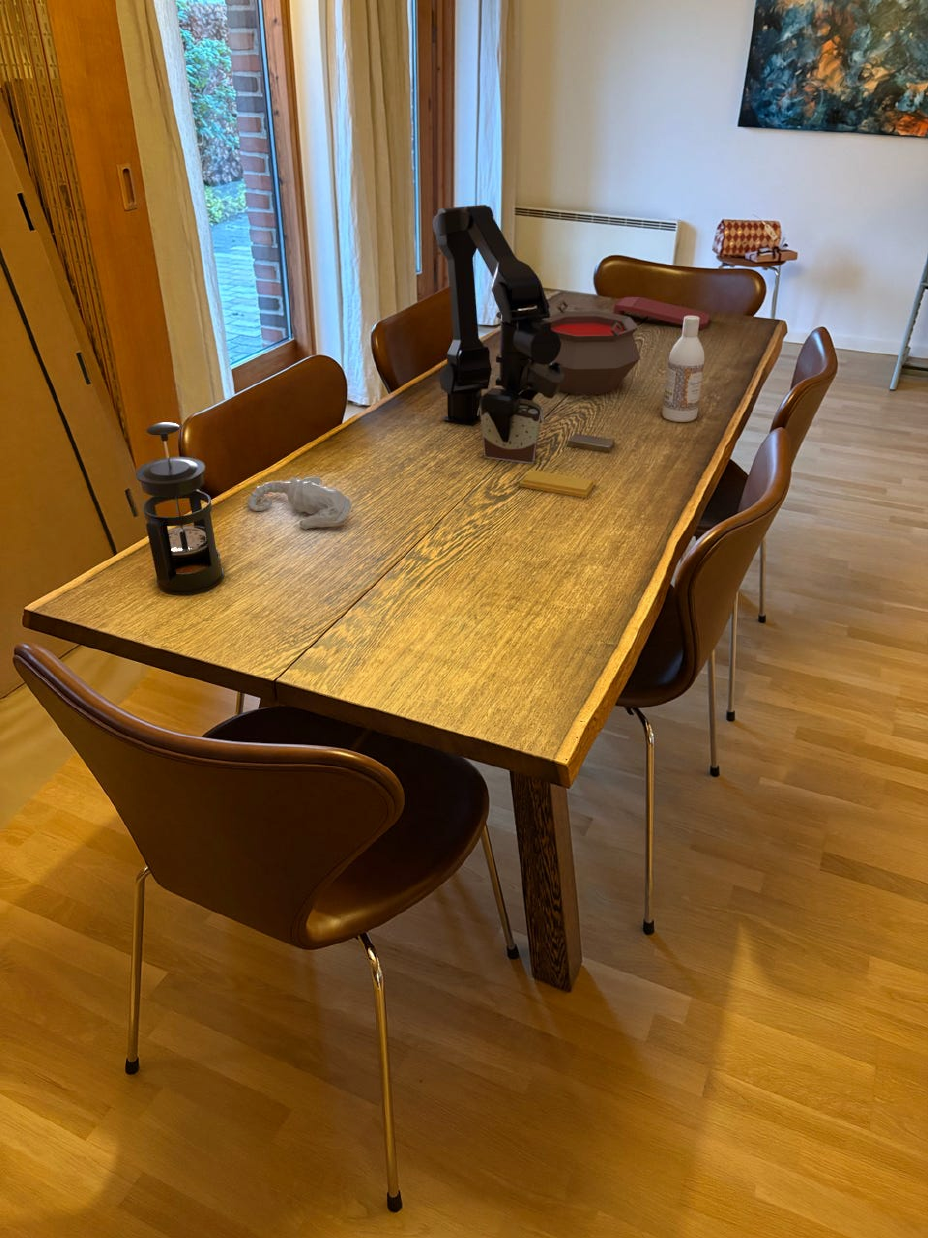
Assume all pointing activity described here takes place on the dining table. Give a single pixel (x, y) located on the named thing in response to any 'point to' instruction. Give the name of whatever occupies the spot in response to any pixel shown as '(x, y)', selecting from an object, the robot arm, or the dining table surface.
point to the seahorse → (307, 501)
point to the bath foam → (684, 375)
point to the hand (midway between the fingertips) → (513, 433)
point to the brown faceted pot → (593, 349)
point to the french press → (179, 522)
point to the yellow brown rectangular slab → (557, 483)
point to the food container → (513, 434)
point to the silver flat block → (591, 442)
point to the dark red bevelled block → (658, 310)
